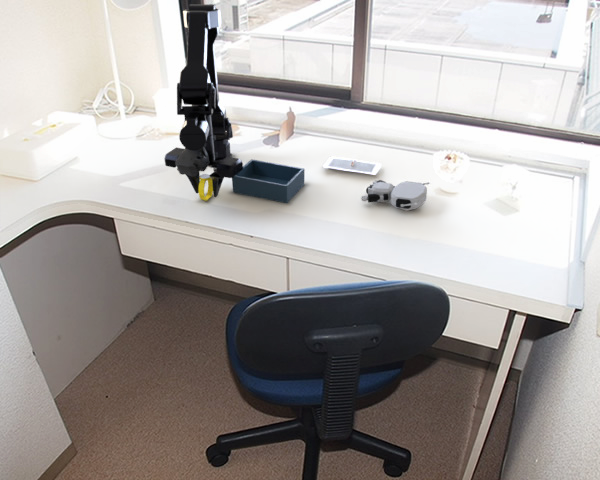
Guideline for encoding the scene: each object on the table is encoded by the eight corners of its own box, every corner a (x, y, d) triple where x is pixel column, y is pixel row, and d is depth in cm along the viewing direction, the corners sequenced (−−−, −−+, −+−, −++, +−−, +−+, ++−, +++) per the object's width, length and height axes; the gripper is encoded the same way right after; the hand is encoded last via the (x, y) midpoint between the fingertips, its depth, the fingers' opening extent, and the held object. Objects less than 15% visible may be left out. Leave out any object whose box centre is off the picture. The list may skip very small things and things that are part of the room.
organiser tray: (232, 192, 142) (231, 175, 139) (252, 175, 150) (251, 159, 147) (287, 203, 137) (287, 186, 134) (304, 184, 145) (304, 168, 143)
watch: (207, 204, 136) (204, 182, 133) (197, 202, 137) (194, 180, 133) (216, 193, 141) (214, 172, 137) (206, 192, 142) (204, 170, 138)
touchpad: (375, 178, 148) (376, 171, 147) (322, 170, 152) (322, 163, 151) (381, 167, 154) (382, 159, 153) (330, 159, 158) (330, 152, 157)
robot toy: (358, 210, 136) (419, 218, 130) (358, 193, 133) (420, 201, 128) (373, 190, 145) (430, 197, 139) (373, 173, 142) (432, 180, 137)
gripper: (146, 139, 126) (156, 201, 135) (218, 152, 120) (224, 216, 130) (173, 123, 134) (181, 183, 144) (242, 134, 128) (245, 196, 138)
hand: (206, 194), depth 138 cm, fingers open, 5 cm apart
